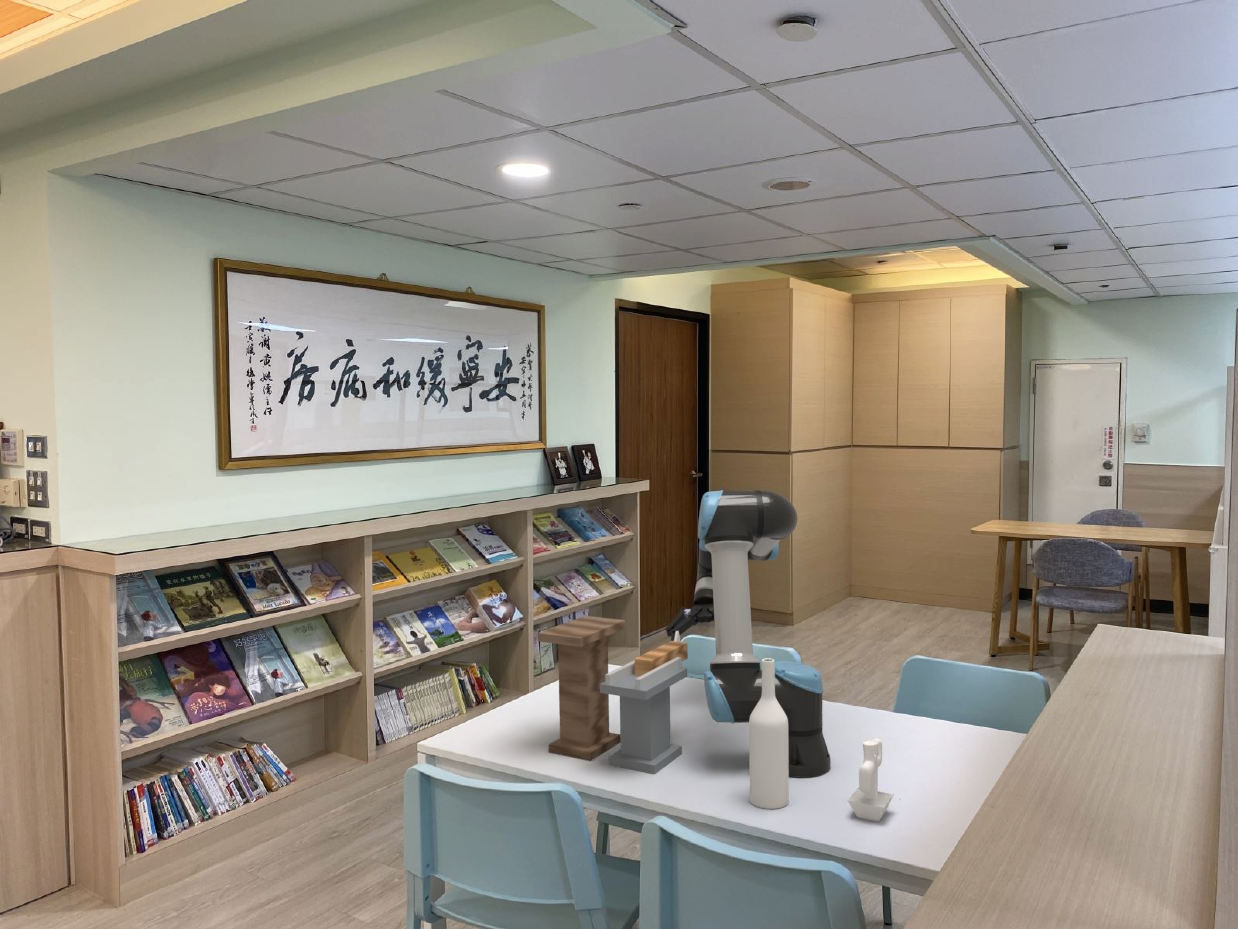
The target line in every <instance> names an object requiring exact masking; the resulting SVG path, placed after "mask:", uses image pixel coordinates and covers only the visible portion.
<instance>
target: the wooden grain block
mask: <svg viewBox="0 0 1238 929" xmlns="http://www.w3.org/2000/svg"><path fill="white" fill-rule="evenodd" d="M688 646H689V645H688V642H684V641H680V642H677V641H671V640H670V641H668V642H666V643H663V644H662V645H659V646H658V647H655V648H653V649H650V650H649V651H647V652H645V653H643V654H641V655H639V656H637V657H635V658H634V660H635V675H637V676H642V675H644V674H646V673H648V672H650V671H651V670H653V669H655V668H657V667H659V666H661V665H663V664H665V663H667V662H669V661H670V660H672V659H674V658H676V657H681V658H682V662H684V661H686V660H688V658H689V655H688V653H689V652H688Z"/></svg>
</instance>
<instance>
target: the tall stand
mask: <svg viewBox="0 0 1238 929" xmlns="http://www.w3.org/2000/svg"><path fill="white" fill-rule="evenodd" d="M626 627H627V626H626V619H618V618H617V619H616V618H608V617H602V616H601V617H599V616H593V615H592V616H589V615H583V616H581V617H578V618H575V619H573V620H570V621H567V622H564V623H562V624H559V625H556V626H554V627H550V628H548V629H545V630H542V631H539V632H537V641H538V642H541V643H547V644H549V643H550V644H556V645H557V653H558V655H557V656H558V704H559V705H558V708H559V738H557V739H555V740H554V741H552V742H550V743H548V753H550V754H555V755H561V756H565V757H568V758H569V757H570V758H574V759H579V760H583V761H584V760H585V761H589V762H592V761H594V760H595V759H596V758H598V757H600V756H601V755H603V754H604V753H606V752H608V751H610V750H611V749H612V748H615V746H617V745H618V744H620V733H615V732H611V731H610V705H609V703H610V701H609V700H610V699H609V697H610V696H609V695H610V694H605V693H600V684H601V683H603V682H605V674H608V673H609V646H608V645H609V643H608V642H609V636H610V635H613V634H615V633H618V632H620V631H622V630H624V629H626Z"/></svg>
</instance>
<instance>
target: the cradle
mask: <svg viewBox="0 0 1238 929" xmlns="http://www.w3.org/2000/svg"><path fill="white" fill-rule="evenodd" d="M682 663H683V661H682V658H681V657H676V658H674V659H672V660H670V661H669V662H667V663H665V664H663V665H661V666H659V667H657V668H655V669H653V670H651V671H650V672H648V673H646V674H644V675H642V676H637V675H635V659H634V660H632V661H629V662H628V663H626V664H624V665H622V666H619V667H618V668H615V669H614V670H611V671H610V672H608V674H605V682H603V683H601V684H600V693H605V694H609V695H612V696H618V697H619V728H620V729H619V732H620V733H619V734H620V743H619V744H620V749H618V750H617V751H615V752H613V753H612V754H610V755H609V756H608V765H609V766H613V767H617V768H622V769H627V770H633V771H638V772H641V773H648V774H652V775H655V774H657V773H658V772H660V771H661V770H662V769H665V767H667V766H668V765H669V764H670V763H672V762H673V761H674V760H676V759H677V758H679V757H680V756H681V755H682V754H683V746H682V745H679V744H674V743H671V742H672V741H671V689H670V688H671V687H672V686H673V685H675V684H676V683H679V682H680V681H681V680H684V679H685V678H687V677H688V668H687V667H682V665H683V664H682Z"/></svg>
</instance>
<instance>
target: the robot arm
mask: <svg viewBox="0 0 1238 929" xmlns="http://www.w3.org/2000/svg"><path fill="white" fill-rule="evenodd" d="M698 513H699V515H698V516H699V517H698V524H697V526H698V527H697V537H698V539H699V542H698V563H697V576H696V584H695V590H694V595H693V596H694V597H693V602H692V607H691V608H686V606H681V607H680V611H679V612H678V613H677V615H675V617H674V618H673V619H672V620H671V622H670V623H669V624H668V625H667V626H666V627H665V632H666V636H667V637H668V638H669V637H671V638H670V641H677V642H681V635H682V634H683V633H685V632H687V631H688V630H689V629H690V628H692V626H696V625H697V624H699V623H711V622H714V639H715V641H714V642H715V656H714V658H712V660H710V662H709V669H708V670H706V671H704V673H703V680H704V691H705V698H706V702H707V703H706V704H707V705H708V710H709V714H710V716H711V718H712V719H713V720H714V721H715V722H717V723H723V724H724V723H725V724H728V723H731V724H735V723H736V724H738V723H749V719H750V715H751V713H752V711H753V710H754V708H755V707H756V705H757V704H758V702H759V700H760V699H761V696H762V667H761V661H760V660H759V659H758V658H757V657H756V656H755V654H754V649H753V648H754V647H753V646H754V645H753V630H752V629H753V628H752V627H753V626H752V614H751V613H752V611H751V593H750V592H751V591H750V578H749V577H750V576H749V561H756V562H757V561H759V562H760V561H763V562H768V561H774V560H777V558H778V556H779V551H780V549H779V548H780V546H779V544H780V543H779V542H780V541H782V540H785V539H786V538H788V537H789V536H791V535H792V534H793V532H794V531H795V529H796V527H797V526H798V525H797V523H798V513H797V510H796V508H795V506H794V504H792V502H791V501H790V500H789V499H787V498H786V497H785V496H783V495H781V494H780V493H777V492H775V491H771V490H767V489H758V490H757V489H756V490H755V489H753V490H747V489H746V490H744V489H737V490H734V489H731V490H727V489H725V490H723V489H721V490H715V491H713V490H711V491H707V492H705V493H704V494H703V495H702V498H701V502H700V507H699V512H698ZM823 693H824V689H823V678H822V674H821V673H820V671H819V670H818V669H817V668H816V667H815V668H814V667H813V666H811V665H808V664H805V663H801V662H794V661H788V660H778V661H775V697H776V699H777V701H778V703H779V704H780V706H781V707H782V709H783V711H784V712H785V714H786V716H787V719H788V759H789V777H792V778H813V777H818V776H821V775H823V774H826V773H828V772H829V771H830V769H831V756H830V753H829V750H828V745H827V742H826V740H825V738H824V734H823Z"/></svg>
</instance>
